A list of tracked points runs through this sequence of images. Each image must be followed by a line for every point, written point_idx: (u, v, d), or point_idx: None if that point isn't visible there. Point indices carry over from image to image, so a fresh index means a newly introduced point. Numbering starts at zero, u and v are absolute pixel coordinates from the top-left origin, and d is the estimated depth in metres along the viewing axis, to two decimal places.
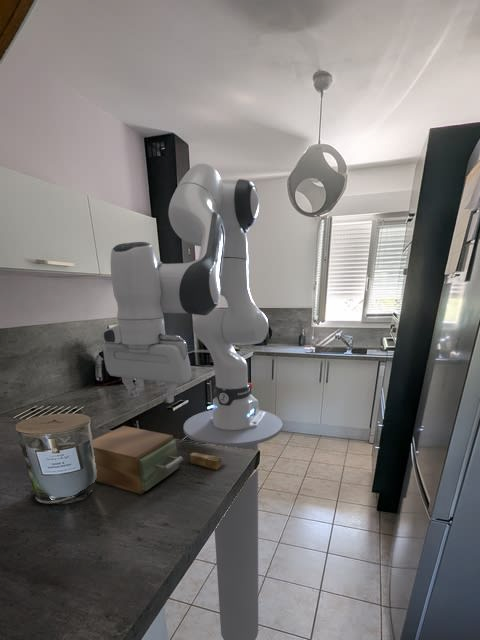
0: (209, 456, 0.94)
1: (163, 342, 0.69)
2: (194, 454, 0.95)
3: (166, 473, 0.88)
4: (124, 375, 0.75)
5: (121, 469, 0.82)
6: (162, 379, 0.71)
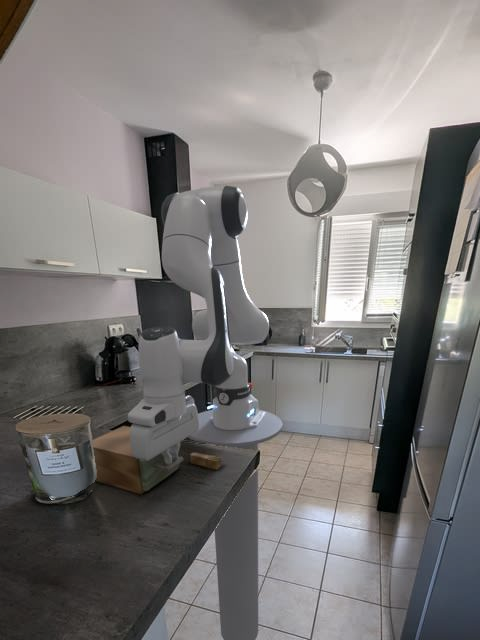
0: (209, 456, 0.94)
1: None
2: (194, 454, 0.95)
3: (166, 473, 0.88)
4: (161, 450, 0.77)
5: (121, 469, 0.82)
6: (189, 433, 0.85)
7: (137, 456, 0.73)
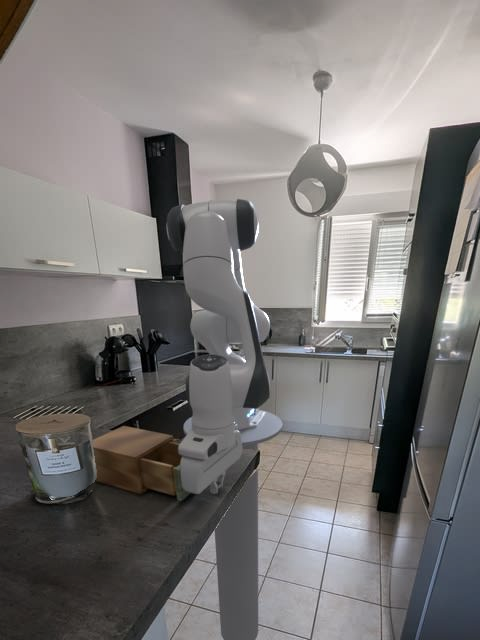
0: None
1: None
2: None
3: None
4: (210, 482, 0.74)
5: (121, 469, 0.82)
6: (233, 461, 0.82)
7: (188, 490, 0.70)
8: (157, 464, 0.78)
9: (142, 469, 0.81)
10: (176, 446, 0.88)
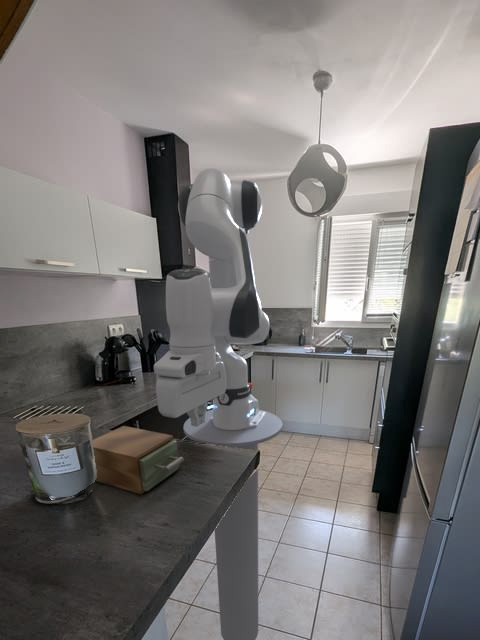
0: None
1: None
2: None
3: (166, 473, 0.88)
4: (190, 408, 0.69)
5: (121, 469, 0.82)
6: (216, 394, 0.77)
7: (164, 412, 0.65)
8: None
9: None
10: None
